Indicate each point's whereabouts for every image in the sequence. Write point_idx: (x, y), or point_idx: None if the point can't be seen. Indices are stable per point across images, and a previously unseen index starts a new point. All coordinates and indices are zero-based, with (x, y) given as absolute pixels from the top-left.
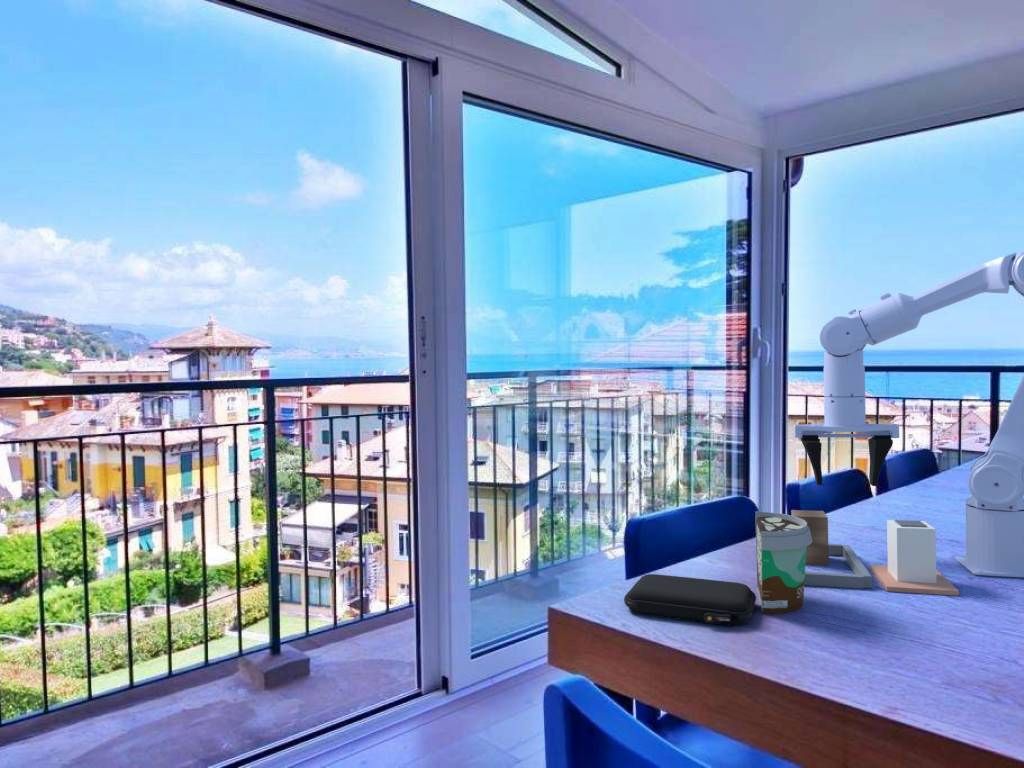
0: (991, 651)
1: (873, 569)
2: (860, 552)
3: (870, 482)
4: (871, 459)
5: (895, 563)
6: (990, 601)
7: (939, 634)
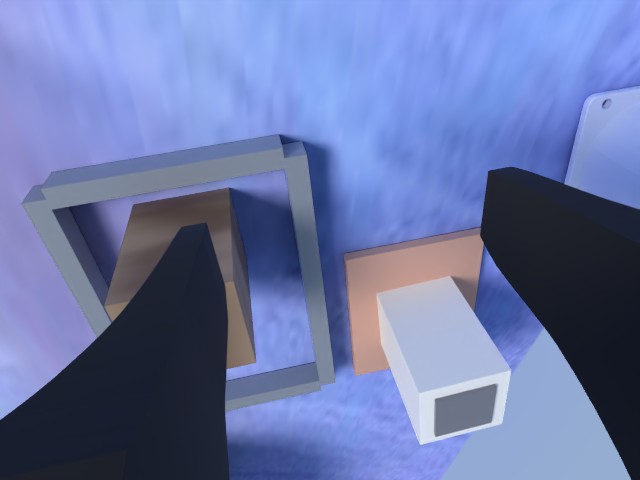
0: (424, 477)
1: (348, 290)
2: (338, 90)
3: (491, 196)
4: (592, 285)
5: (390, 362)
6: (501, 348)
7: (386, 465)
